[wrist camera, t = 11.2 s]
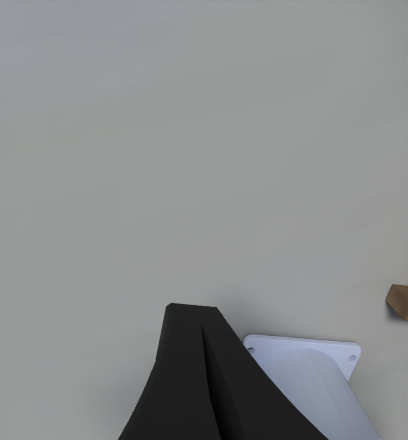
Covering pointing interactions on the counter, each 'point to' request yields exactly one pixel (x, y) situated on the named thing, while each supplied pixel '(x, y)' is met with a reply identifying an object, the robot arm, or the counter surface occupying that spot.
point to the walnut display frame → (399, 300)
